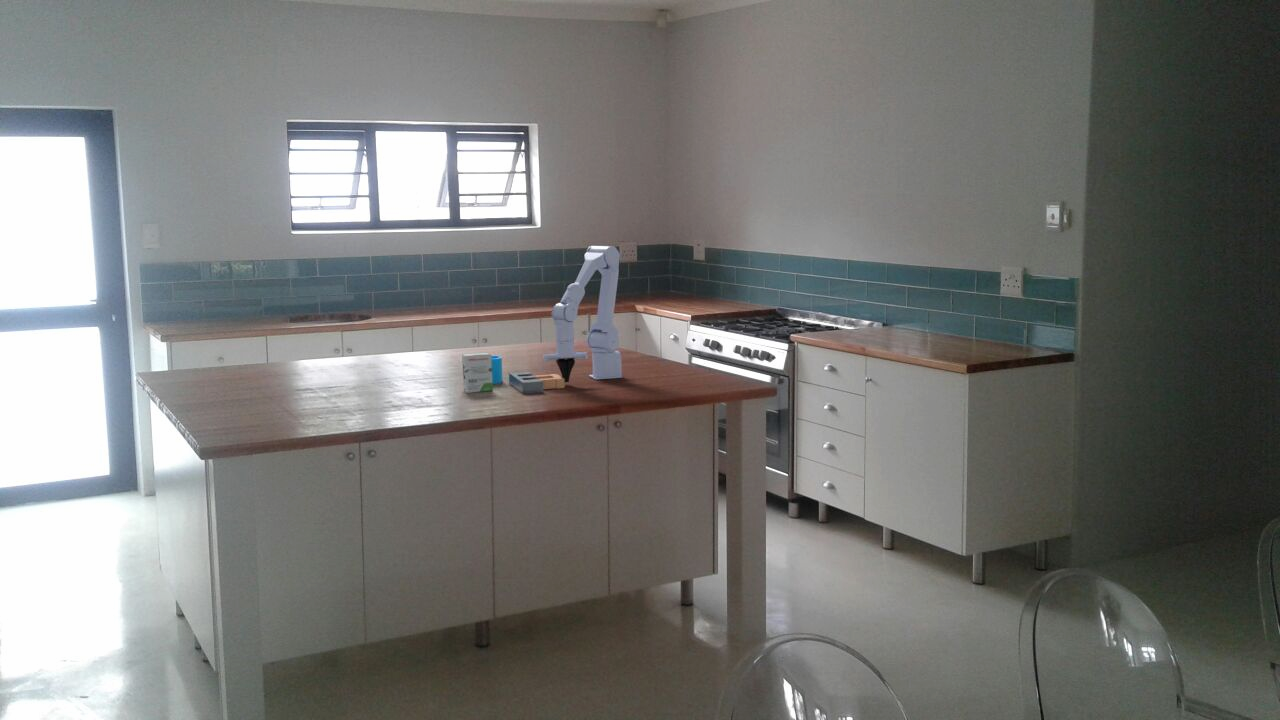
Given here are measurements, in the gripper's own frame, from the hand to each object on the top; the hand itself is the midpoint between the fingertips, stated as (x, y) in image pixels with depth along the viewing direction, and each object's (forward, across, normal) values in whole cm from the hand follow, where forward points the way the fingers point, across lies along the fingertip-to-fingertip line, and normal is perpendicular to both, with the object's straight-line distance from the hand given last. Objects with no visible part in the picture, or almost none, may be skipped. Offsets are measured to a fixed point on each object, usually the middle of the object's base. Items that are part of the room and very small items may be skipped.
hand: (565, 381), depth 367 cm
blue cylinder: (+1, +21, -18) cm, 28 cm away
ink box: (+1, +28, -1) cm, 29 cm away
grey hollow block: (+1, +14, 0) cm, 14 cm away
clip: (+1, +6, 0) cm, 6 cm away
